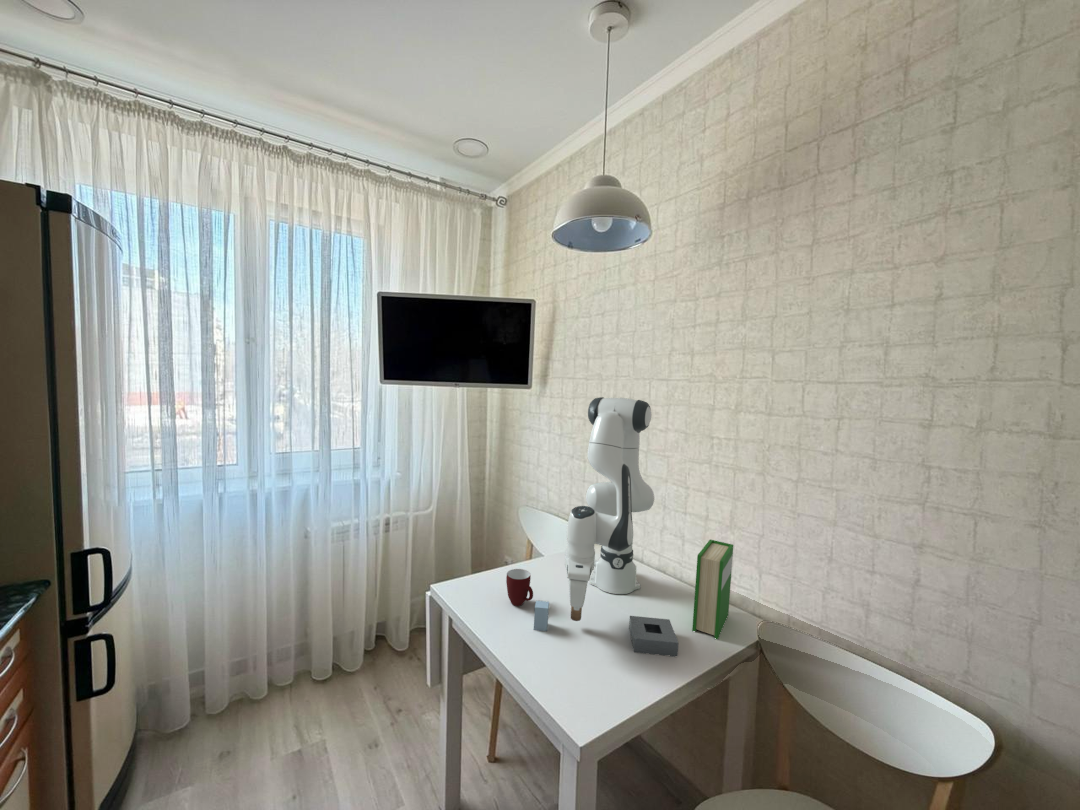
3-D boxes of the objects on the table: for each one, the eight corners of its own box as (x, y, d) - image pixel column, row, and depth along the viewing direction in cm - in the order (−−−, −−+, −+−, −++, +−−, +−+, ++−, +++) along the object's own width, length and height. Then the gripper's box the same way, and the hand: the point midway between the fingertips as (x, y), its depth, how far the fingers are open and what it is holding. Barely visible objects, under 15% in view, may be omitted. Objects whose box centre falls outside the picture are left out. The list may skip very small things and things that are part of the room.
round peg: (570, 614, 133) (572, 586, 132) (581, 615, 132) (583, 587, 131) (570, 620, 129) (572, 591, 129) (580, 621, 129) (582, 593, 128)
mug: (540, 604, 144) (541, 575, 143) (526, 614, 137) (527, 584, 137) (514, 594, 150) (516, 566, 149) (500, 603, 143) (501, 574, 142)
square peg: (534, 622, 133) (536, 600, 133) (547, 623, 132) (549, 601, 132) (533, 629, 129) (534, 607, 129) (546, 631, 129) (548, 608, 128)
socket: (628, 628, 132) (629, 615, 132) (668, 632, 131) (669, 619, 131) (633, 652, 120) (634, 638, 120) (677, 656, 119) (678, 642, 119)
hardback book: (717, 640, 128) (723, 561, 127) (692, 631, 133) (697, 555, 131) (728, 615, 143) (733, 544, 142) (705, 607, 147) (710, 539, 146)
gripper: (571, 546, 140) (568, 586, 141) (567, 575, 120) (564, 623, 121) (590, 548, 139) (587, 588, 140) (589, 578, 119) (586, 625, 120)
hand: (576, 605), depth 130 cm, fingers closed on round peg, 3 cm apart
